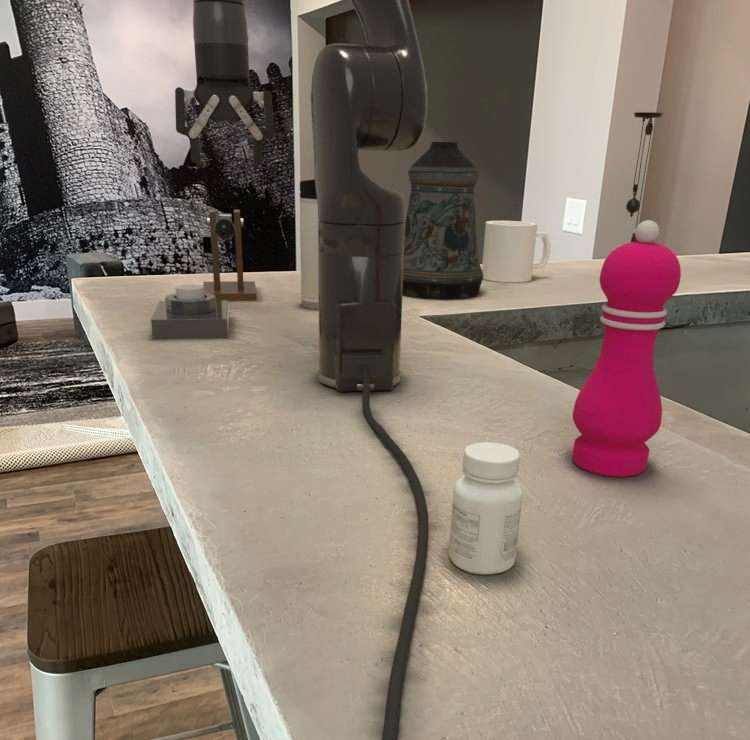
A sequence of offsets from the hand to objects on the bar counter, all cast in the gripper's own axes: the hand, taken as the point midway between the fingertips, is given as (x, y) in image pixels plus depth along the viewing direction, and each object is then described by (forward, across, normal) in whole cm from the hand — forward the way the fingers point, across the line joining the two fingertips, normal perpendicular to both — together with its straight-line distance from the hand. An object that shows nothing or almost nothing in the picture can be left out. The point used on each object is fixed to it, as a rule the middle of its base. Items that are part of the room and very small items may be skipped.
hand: (227, 167), depth 115 cm
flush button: (+17, -6, -15) cm, 23 cm away
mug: (+21, +56, +27) cm, 66 cm away
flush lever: (+10, -1, +5) cm, 12 cm away
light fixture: (+21, +86, +36) cm, 95 cm away
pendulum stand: (+21, -1, +11) cm, 24 cm away
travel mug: (+21, +14, 0) cm, 25 cm away
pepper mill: (+21, +32, -70) cm, 80 cm away
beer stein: (+21, +36, +14) cm, 44 cm away
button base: (+21, -6, -15) cm, 26 cm away
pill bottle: (+21, +16, -85) cm, 89 cm away
